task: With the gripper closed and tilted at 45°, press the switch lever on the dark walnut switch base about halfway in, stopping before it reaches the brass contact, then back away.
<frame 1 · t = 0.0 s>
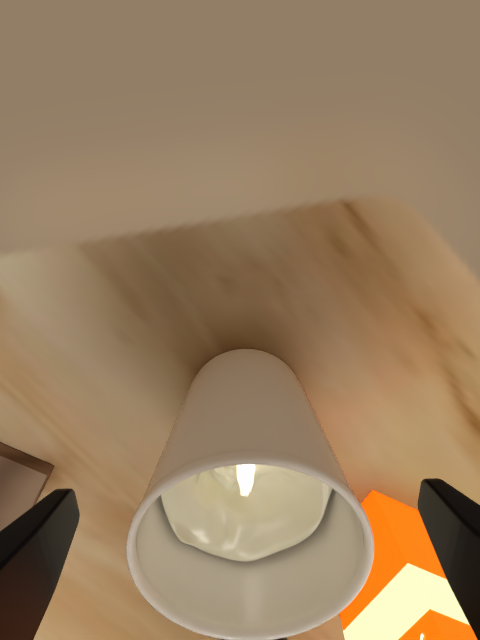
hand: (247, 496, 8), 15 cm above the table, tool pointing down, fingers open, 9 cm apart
white cup: (245, 397, 25), on the table
orange juice: (387, 536, 29), on the table
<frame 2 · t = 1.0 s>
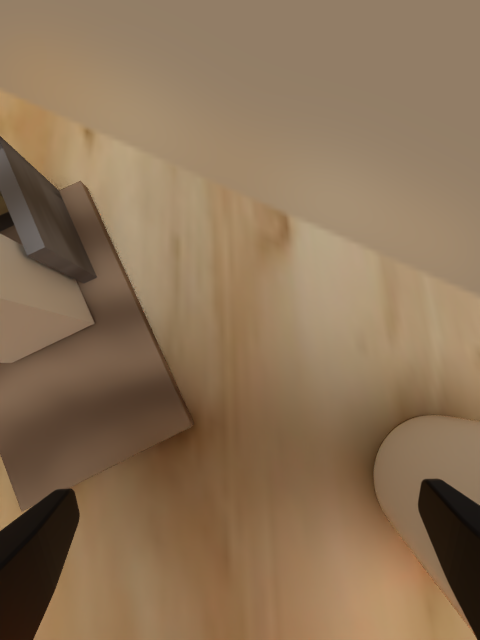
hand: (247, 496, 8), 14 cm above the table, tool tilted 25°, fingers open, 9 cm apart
white cup: (433, 477, 22), on the table
switch base: (48, 306, 24), on the table
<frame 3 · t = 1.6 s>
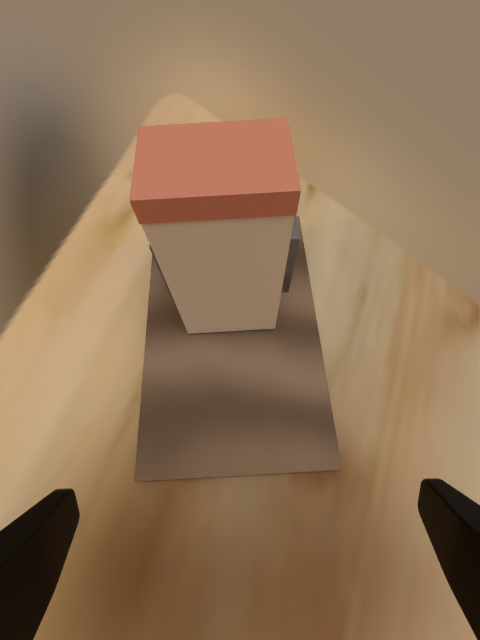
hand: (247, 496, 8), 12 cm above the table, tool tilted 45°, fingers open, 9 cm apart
switch lever: (224, 253, 18), point 7 cm above the table, slide at 0.0 cm
switch base: (230, 302, 25), on the table
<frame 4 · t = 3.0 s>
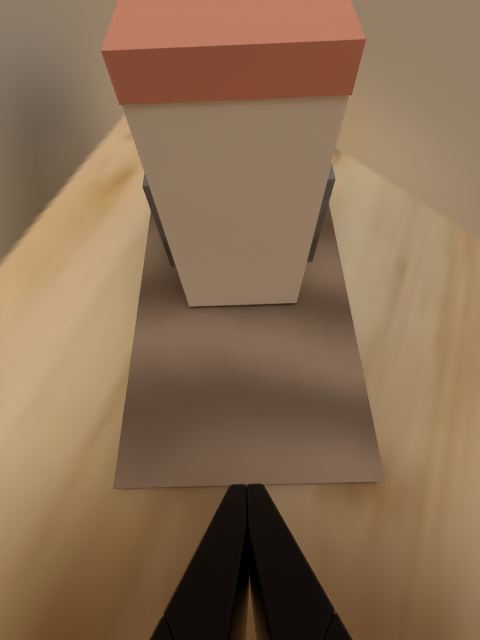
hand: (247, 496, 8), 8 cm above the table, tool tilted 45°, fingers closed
switch lever: (238, 192, 14), point 7 cm above the table, slide at 0.0 cm
switch base: (241, 274, 21), on the table
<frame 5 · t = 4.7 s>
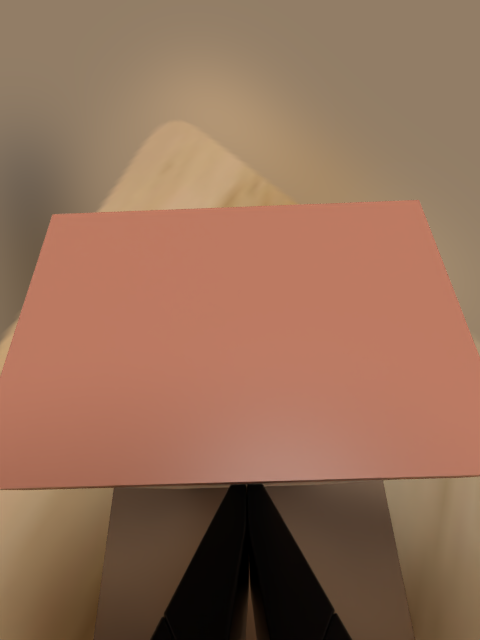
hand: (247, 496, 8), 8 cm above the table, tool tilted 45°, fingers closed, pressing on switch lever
switch lever: (244, 410, 10), point 7 cm above the table, slide at 1.1 cm, touching gripper
switch base: (246, 445, 16), on the table
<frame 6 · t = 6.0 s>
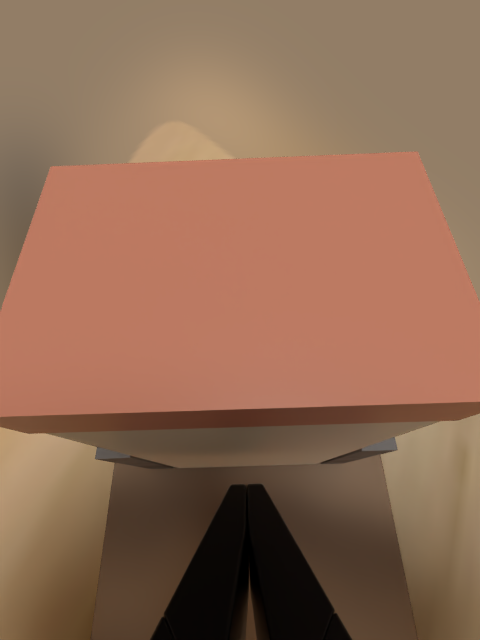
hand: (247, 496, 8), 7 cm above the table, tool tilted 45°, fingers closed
switch lever: (243, 382, 10), point 7 cm above the table, slide at 3.0 cm
switch base: (247, 467, 16), on the table
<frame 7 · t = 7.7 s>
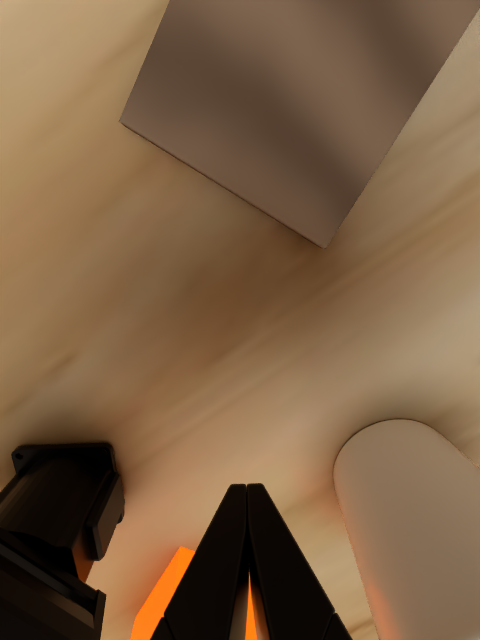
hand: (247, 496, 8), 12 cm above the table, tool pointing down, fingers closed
white cup: (389, 466, 23), on the table
orange juice: (199, 595, 27), on the table
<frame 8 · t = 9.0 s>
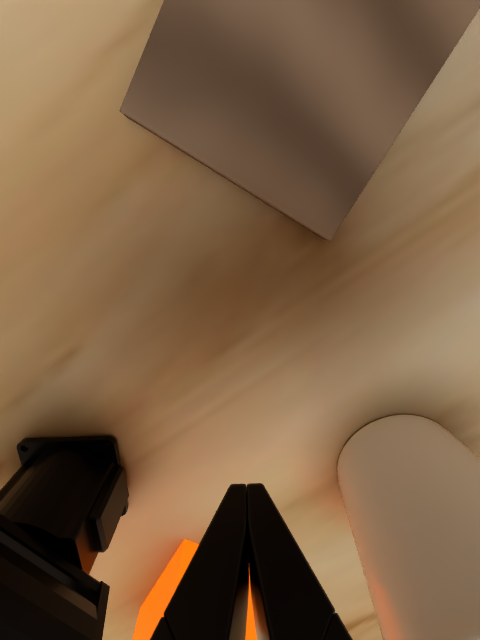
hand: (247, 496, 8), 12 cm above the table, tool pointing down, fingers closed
white cup: (394, 462, 23), on the table
orange juice: (203, 587, 27), on the table
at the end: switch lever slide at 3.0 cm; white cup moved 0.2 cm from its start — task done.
